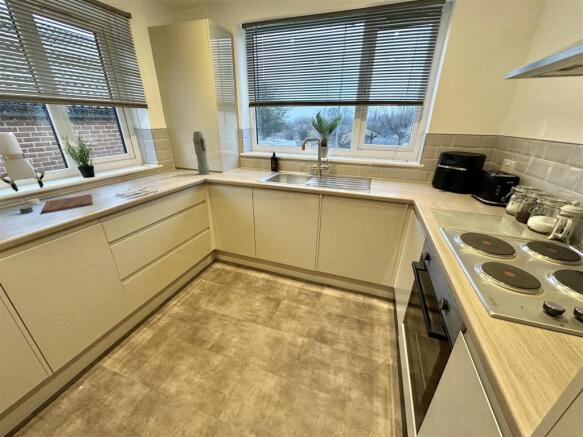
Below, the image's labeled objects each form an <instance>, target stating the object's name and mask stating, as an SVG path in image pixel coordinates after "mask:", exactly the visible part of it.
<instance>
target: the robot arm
mask: <svg viewBox="0 0 583 437" xmlns="http://www.w3.org/2000/svg"><path fill="white" fill-rule="evenodd" d="M0 154H1V156H2V158H3V160H4V161H3V166H4V169H5V173H4V174H2V175H0V181H2V182H3V183H6V184H8V185H10V186H11V189H12V190H13V191H14V192H15V193H16V192H18V191H19V188H18V186H17V184H16V183H15V181H22V180H29V179H35V180H37V184H38V186H39V188H40V189H43V187H44V185H45V184H44V183H43V178H44V177H45V174H46V171H44V170H39V169H36V168H34V165H33V164H32V162H31V160H30V159H29V158H28V157H29V154H26V153H24V152H23V150H22V148H21V146H20V143H19V141H18V139H17V137H16V135H15V134H14V133H13V132H9V131H8V132H7V131H6V132H5V131H4V132H0ZM38 174H40V176H39V175H38ZM6 177H8V178H9V179H6Z"/></svg>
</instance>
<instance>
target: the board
mask: <svg viewBox="0 0 583 437" xmlns="http://www.w3.org/2000/svg"><path fill="white" fill-rule="evenodd" d="M93 205H94V203H93V195H92V194H91V193H89V194H83V195H77V196H70V197H64V198H58V199H51V200H46V201H45V203H44V205H43V207H42V209H41V211H40V213H39V215H42V214H49V213H53V212H59V211H66V210H71V209H77V208H83V207H88V206H93Z"/></svg>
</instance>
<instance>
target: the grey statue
mask: <svg viewBox="0 0 583 437" xmlns="http://www.w3.org/2000/svg"><path fill="white" fill-rule="evenodd" d="M192 141H193V147H194V152H195V156H196V161H197V171H198V175H200V176H205V175H206V176H207V175H210V166H209V163H208V157H207V145H206V139H205V138H204V134H203V132H202V131H201V130H200V131H194V132H193V138H192Z"/></svg>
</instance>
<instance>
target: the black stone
mask: <svg viewBox="0 0 583 437" xmlns="http://www.w3.org/2000/svg"><path fill="white" fill-rule="evenodd" d="M18 210H19V212H20V214H21V215H26V214H30V213H33V212H34V210H33V207H32V205H28V206H27V205H26V206H22V207H20V208H18Z"/></svg>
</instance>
